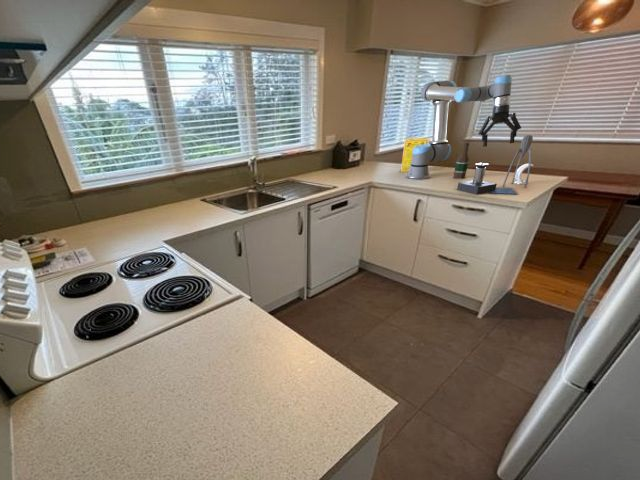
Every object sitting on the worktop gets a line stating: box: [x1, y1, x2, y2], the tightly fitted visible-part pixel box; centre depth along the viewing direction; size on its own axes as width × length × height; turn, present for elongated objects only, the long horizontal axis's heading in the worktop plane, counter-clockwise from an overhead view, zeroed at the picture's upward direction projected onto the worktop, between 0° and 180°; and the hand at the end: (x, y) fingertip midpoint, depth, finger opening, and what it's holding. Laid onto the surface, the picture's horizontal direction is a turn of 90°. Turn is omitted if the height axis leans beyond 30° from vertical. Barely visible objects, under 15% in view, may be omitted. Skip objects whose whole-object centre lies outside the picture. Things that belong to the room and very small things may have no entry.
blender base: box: [456, 179, 498, 195], centre depth 184 cm, size 14×14×4 cm
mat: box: [489, 186, 518, 196], centre depth 179 cm, size 14×12×1 cm
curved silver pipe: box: [513, 162, 534, 185], centre depth 188 cm, size 5×6×12 cm
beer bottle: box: [452, 142, 470, 180], centre depth 211 cm, size 8×8×24 cm
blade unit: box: [472, 162, 490, 185], centre depth 181 cm, size 6×6×17 cm
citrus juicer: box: [502, 134, 534, 189], centre depth 180 cm, size 11×10×30 cm
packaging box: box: [400, 137, 431, 173], centre depth 246 cm, size 16×16×25 cm
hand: (498, 144), depth 174 cm, fingers open, 13 cm apart
